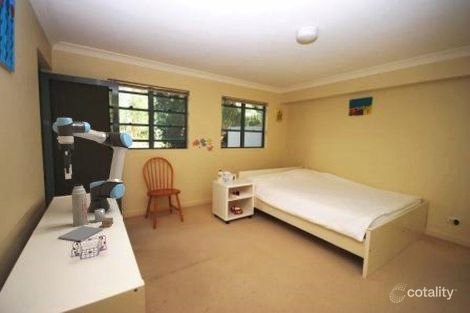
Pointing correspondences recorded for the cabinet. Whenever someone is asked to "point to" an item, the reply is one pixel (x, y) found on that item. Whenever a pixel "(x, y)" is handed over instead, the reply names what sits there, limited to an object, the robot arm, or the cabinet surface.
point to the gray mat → (80, 233)
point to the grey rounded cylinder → (99, 215)
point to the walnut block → (107, 222)
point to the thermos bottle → (79, 205)
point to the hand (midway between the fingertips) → (68, 176)
